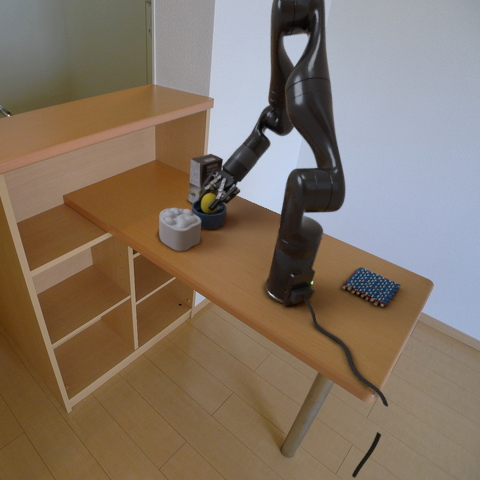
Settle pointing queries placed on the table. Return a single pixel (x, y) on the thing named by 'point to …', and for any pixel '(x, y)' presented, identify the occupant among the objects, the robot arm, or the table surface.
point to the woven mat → (371, 286)
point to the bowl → (213, 219)
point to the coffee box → (202, 174)
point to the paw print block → (179, 228)
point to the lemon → (208, 203)
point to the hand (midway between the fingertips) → (205, 204)
